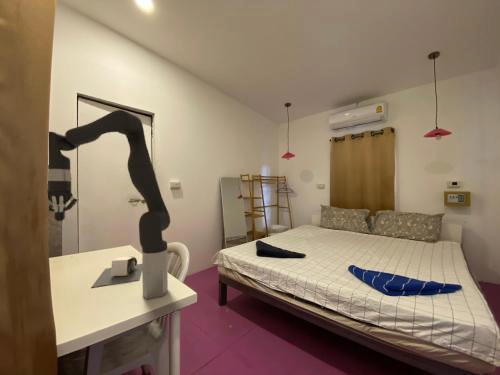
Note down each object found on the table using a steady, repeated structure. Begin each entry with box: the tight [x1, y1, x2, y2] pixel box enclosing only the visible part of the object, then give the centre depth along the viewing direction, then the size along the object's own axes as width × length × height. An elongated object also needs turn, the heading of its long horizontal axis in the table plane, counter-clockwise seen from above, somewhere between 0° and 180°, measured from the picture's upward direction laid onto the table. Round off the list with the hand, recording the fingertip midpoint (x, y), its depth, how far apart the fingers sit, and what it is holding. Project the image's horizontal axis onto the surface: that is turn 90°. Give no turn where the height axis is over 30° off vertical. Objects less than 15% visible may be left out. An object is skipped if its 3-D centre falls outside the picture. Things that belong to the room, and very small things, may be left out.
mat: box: [90, 263, 142, 289], centre depth 102 cm, size 22×18×1 cm
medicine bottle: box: [110, 256, 138, 276], centre depth 104 cm, size 7×7×12 cm
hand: (60, 220), depth 89 cm, fingers closed
